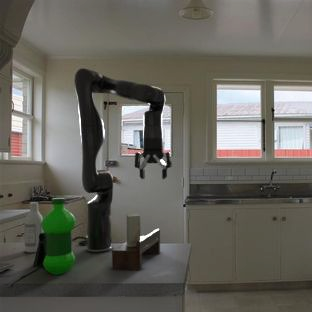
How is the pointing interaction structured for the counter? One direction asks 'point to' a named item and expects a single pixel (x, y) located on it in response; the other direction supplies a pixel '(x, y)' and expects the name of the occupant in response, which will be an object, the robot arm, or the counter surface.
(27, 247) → the bath foam
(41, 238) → the phone stand
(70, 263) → the plastic bottle
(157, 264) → the counter surface
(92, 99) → the robot arm
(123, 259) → the shelf
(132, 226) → the box
